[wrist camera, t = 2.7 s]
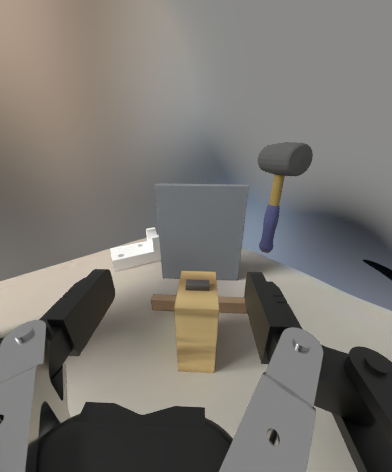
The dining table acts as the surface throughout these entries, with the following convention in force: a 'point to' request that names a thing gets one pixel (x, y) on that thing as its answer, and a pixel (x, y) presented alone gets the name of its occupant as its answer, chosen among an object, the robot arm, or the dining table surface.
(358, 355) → the robot arm
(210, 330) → the ochre block
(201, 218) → the wall board
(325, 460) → the dining table surface
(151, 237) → the bracket
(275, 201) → the rubber mallet
